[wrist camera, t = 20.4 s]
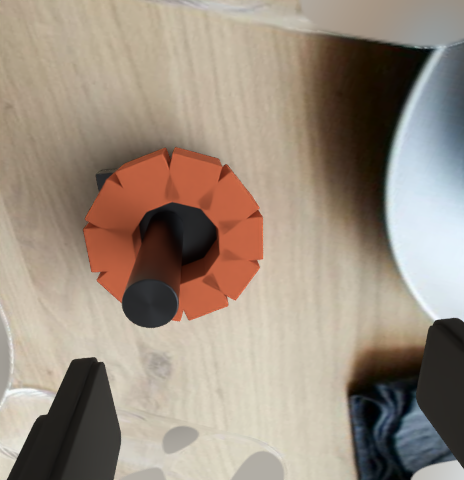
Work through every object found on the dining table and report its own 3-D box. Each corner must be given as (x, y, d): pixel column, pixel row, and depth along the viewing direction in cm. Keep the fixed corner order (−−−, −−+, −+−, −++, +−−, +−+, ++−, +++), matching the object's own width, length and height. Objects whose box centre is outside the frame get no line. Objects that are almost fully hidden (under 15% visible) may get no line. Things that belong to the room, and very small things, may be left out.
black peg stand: (100, 169, 24) (28, 224, 14) (218, 161, 25) (238, 206, 14) (120, 275, 27) (74, 389, 16) (225, 265, 28) (247, 368, 17)
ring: (82, 151, 22) (68, 158, 20) (254, 143, 23) (262, 148, 21) (111, 306, 26) (102, 328, 24) (256, 293, 27) (263, 314, 25)
